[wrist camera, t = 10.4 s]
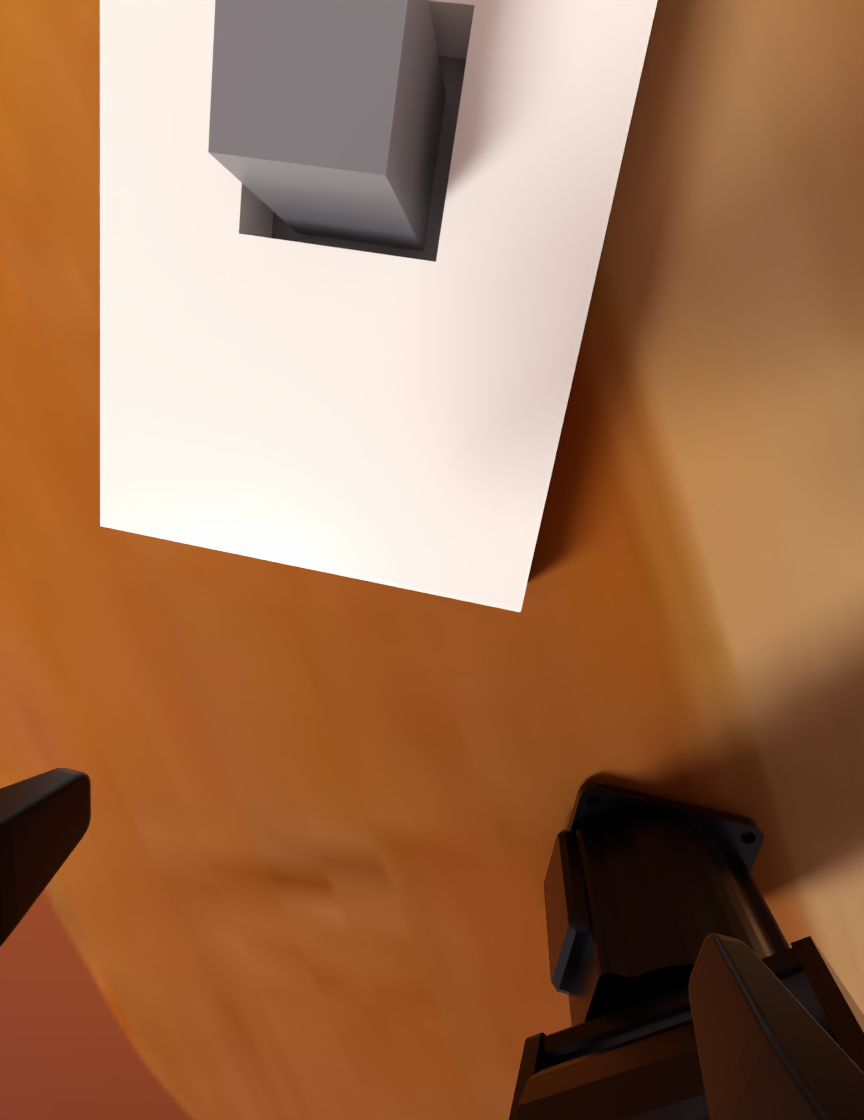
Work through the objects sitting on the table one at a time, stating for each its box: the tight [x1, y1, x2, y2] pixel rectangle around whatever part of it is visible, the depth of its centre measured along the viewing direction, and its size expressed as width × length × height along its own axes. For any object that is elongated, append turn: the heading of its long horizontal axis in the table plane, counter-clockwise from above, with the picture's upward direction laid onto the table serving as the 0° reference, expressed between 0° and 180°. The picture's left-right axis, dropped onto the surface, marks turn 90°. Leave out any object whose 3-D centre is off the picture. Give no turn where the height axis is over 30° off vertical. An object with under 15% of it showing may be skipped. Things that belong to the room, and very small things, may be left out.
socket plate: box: [100, 0, 658, 612], centre depth 16 cm, size 14×18×2 cm
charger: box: [208, 0, 446, 251], centre depth 13 cm, size 4×4×5 cm
